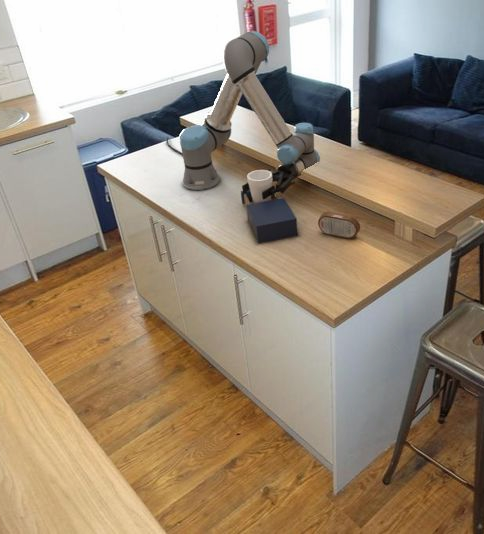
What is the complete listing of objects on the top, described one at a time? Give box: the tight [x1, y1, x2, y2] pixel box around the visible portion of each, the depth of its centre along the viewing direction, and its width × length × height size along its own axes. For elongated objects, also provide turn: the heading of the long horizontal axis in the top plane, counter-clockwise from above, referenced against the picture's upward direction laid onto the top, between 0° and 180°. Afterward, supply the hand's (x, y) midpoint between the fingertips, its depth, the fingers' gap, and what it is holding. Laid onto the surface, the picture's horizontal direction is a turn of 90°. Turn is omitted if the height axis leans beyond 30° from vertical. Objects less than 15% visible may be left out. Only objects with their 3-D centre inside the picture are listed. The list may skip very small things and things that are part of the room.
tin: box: [317, 211, 361, 239], centre depth 197 cm, size 15×3×8 cm, turn 65°
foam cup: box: [246, 169, 273, 203], centre depth 213 cm, size 10×9×13 cm
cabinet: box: [245, 197, 299, 244], centre depth 205 cm, size 17×15×7 cm
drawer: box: [240, 184, 280, 207], centre depth 218 cm, size 22×13×5 cm, turn 16°
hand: (252, 192), depth 210 cm, fingers closed on foam cup, 9 cm apart
